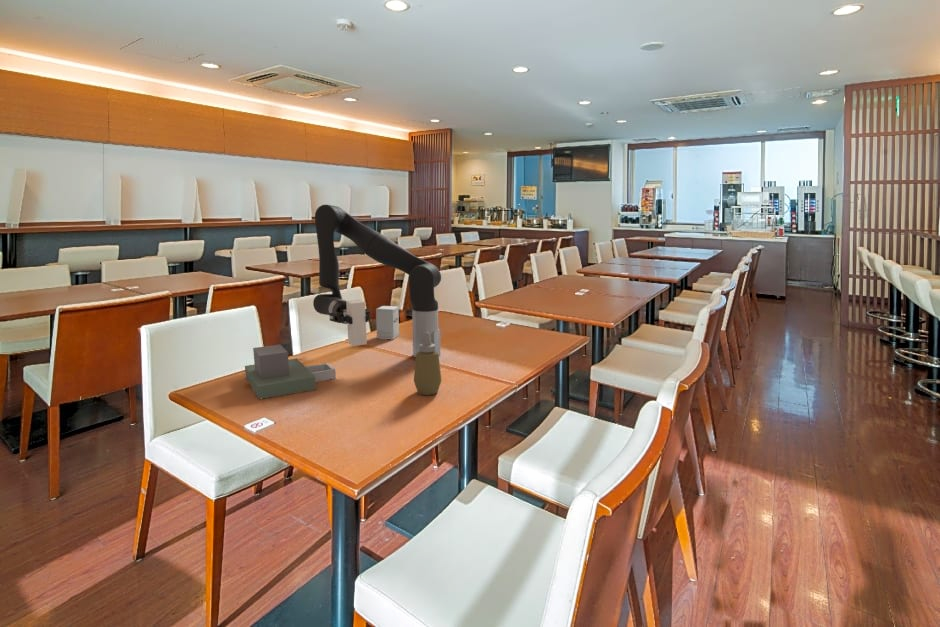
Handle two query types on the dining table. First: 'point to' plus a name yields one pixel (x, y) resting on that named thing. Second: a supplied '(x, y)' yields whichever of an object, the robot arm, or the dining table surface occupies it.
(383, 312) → the supplement box
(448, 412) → the dining table surface
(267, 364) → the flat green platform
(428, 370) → the squeeze bottle
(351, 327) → the tall white pillar block
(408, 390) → the dining table surface
